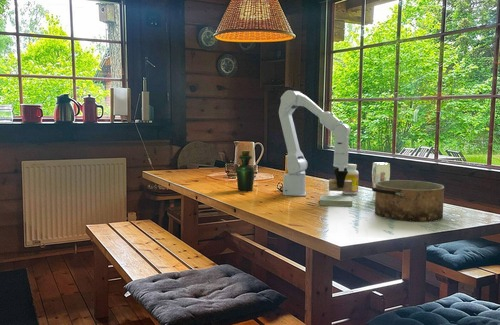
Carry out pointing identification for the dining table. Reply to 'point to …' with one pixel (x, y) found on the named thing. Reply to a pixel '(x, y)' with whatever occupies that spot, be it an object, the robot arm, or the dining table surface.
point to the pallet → (334, 187)
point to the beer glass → (380, 174)
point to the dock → (336, 200)
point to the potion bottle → (245, 172)
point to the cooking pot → (409, 200)
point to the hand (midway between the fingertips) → (340, 186)
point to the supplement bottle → (352, 179)
